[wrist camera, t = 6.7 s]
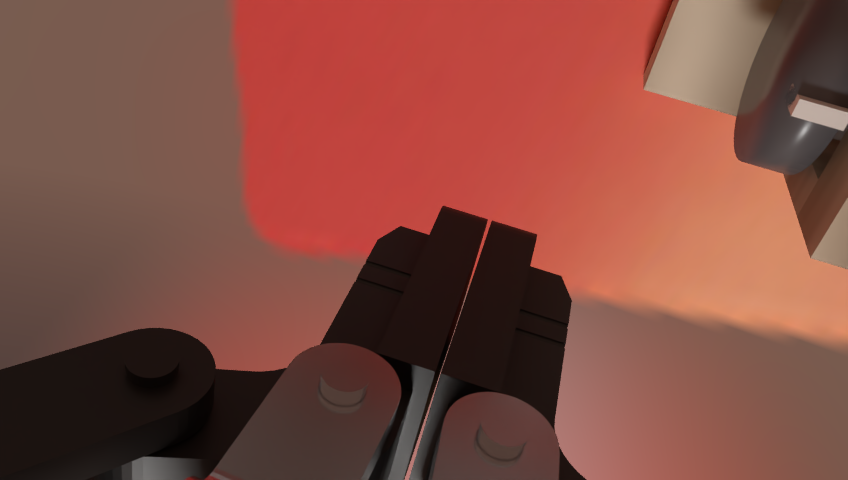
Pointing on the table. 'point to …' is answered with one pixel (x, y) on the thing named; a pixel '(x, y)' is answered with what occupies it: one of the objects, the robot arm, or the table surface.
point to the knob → (796, 88)
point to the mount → (722, 89)
